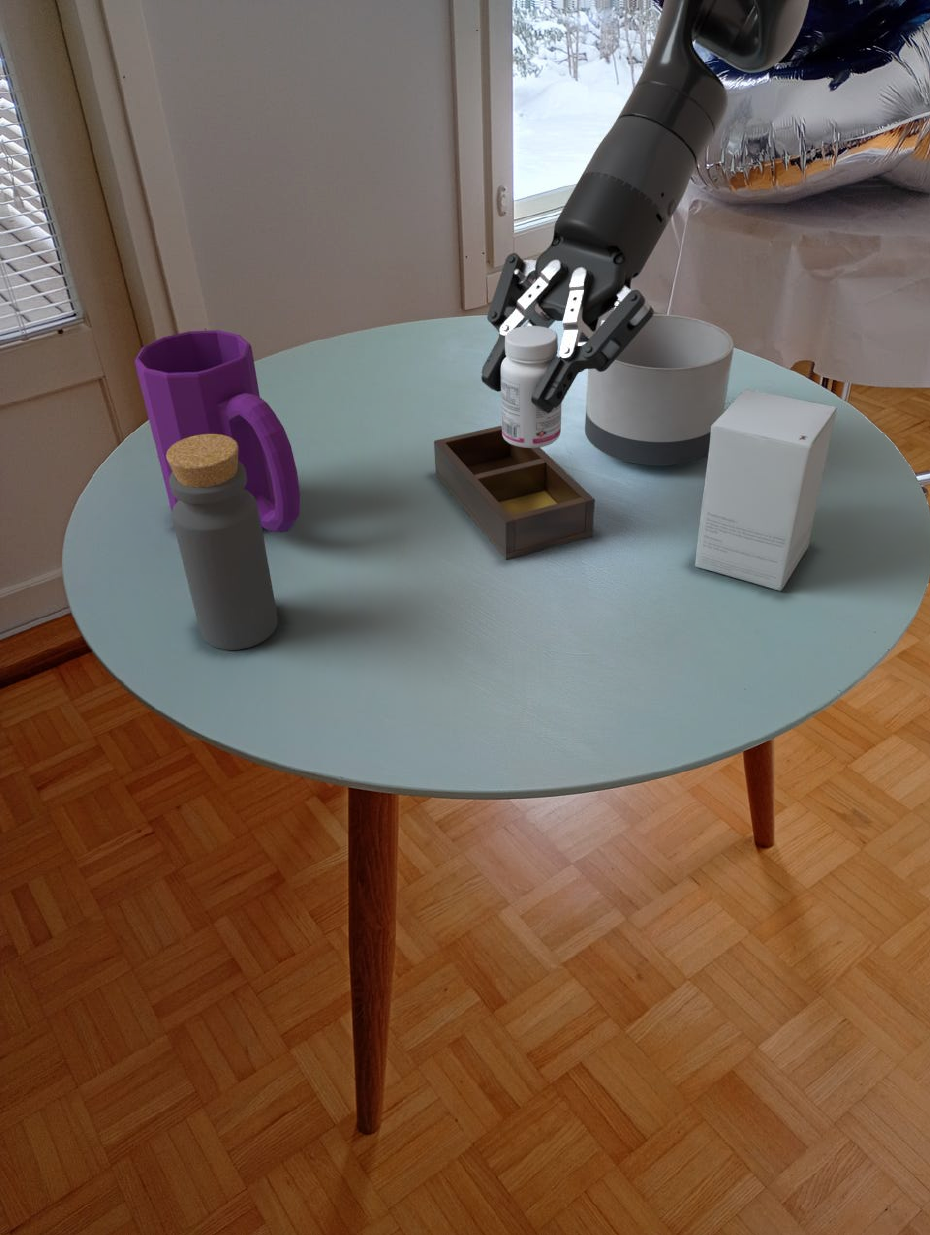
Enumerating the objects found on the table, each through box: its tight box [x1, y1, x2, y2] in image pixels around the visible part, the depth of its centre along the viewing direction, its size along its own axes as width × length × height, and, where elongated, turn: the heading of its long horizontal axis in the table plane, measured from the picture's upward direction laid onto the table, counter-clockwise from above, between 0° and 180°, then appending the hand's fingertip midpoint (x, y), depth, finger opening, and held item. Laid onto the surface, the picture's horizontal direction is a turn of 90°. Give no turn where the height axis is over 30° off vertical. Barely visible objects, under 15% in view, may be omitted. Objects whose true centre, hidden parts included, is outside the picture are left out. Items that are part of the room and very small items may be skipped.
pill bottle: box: [500, 325, 562, 448], centre depth 77 cm, size 5×5×8 cm
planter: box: [584, 313, 735, 466], centre depth 92 cm, size 13×13×10 cm
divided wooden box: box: [433, 425, 596, 560], centre depth 86 cm, size 8×15×4 cm, turn 23°
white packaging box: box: [694, 388, 838, 592], centre depth 76 cm, size 7×7×13 cm
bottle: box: [166, 434, 279, 651], centre depth 70 cm, size 6×6×15 cm
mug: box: [134, 329, 301, 533], centre depth 81 cm, size 9×16×15 cm, turn 47°
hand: (515, 396), depth 76 cm, fingers closed on pill bottle, 4 cm apart
